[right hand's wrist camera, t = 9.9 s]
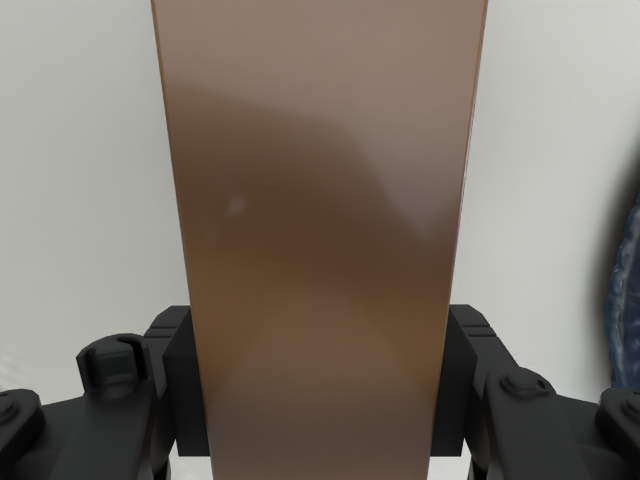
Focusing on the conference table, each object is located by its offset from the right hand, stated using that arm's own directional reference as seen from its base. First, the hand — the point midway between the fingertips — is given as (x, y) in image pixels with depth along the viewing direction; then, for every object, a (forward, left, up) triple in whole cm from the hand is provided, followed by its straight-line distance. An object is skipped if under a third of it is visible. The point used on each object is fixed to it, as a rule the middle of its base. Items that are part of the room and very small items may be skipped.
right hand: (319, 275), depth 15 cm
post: (+2, +21, -1) cm, 22 cm away
